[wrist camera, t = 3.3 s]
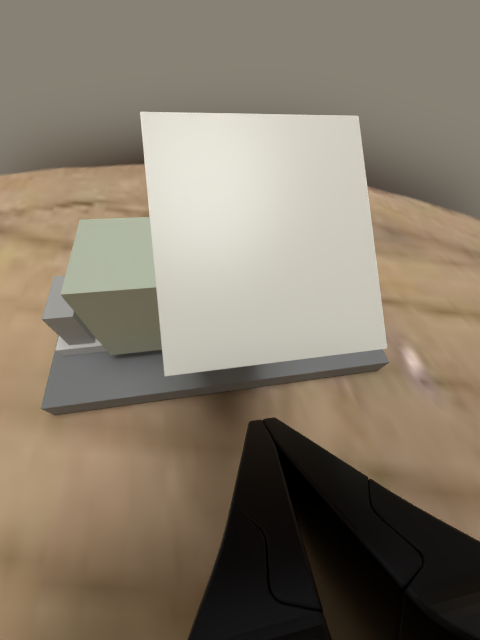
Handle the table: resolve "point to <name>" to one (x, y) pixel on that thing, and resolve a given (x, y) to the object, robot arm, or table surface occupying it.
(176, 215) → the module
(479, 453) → the table surface
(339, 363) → the rail board
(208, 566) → the table surface
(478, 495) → the table surface
